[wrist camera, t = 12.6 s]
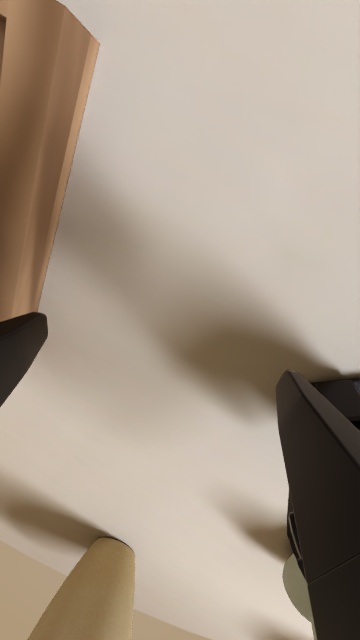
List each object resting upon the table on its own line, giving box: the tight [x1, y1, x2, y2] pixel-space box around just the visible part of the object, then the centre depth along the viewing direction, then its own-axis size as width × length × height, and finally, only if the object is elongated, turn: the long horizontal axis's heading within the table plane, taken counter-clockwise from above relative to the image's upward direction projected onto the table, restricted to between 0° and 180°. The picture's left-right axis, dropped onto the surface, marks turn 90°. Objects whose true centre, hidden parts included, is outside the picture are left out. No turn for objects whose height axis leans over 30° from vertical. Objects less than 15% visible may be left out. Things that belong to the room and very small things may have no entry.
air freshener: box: [283, 553, 317, 640], centre depth 29 cm, size 11×8×10 cm
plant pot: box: [28, 538, 135, 640], centre depth 37 cm, size 15×15×16 cm
